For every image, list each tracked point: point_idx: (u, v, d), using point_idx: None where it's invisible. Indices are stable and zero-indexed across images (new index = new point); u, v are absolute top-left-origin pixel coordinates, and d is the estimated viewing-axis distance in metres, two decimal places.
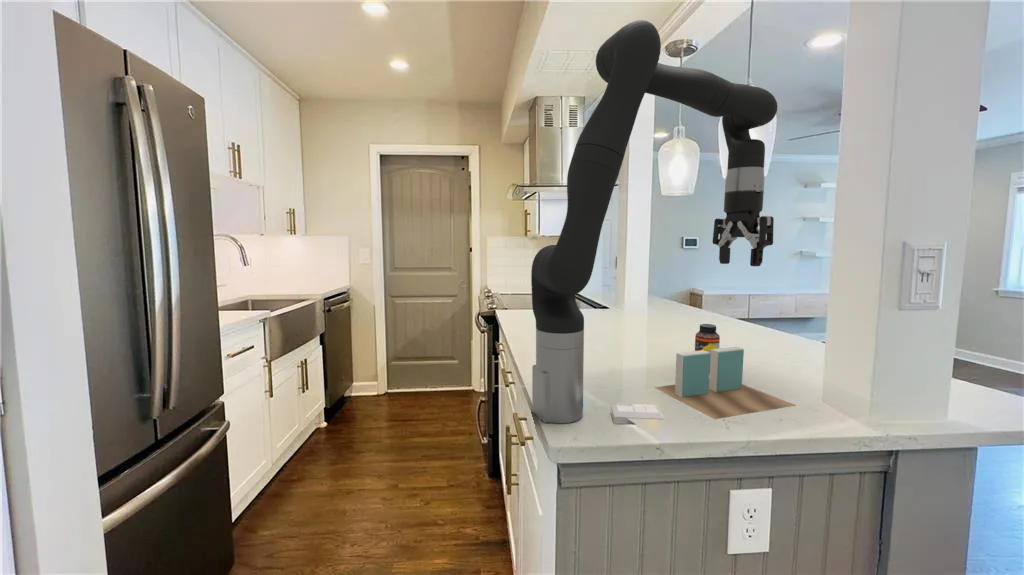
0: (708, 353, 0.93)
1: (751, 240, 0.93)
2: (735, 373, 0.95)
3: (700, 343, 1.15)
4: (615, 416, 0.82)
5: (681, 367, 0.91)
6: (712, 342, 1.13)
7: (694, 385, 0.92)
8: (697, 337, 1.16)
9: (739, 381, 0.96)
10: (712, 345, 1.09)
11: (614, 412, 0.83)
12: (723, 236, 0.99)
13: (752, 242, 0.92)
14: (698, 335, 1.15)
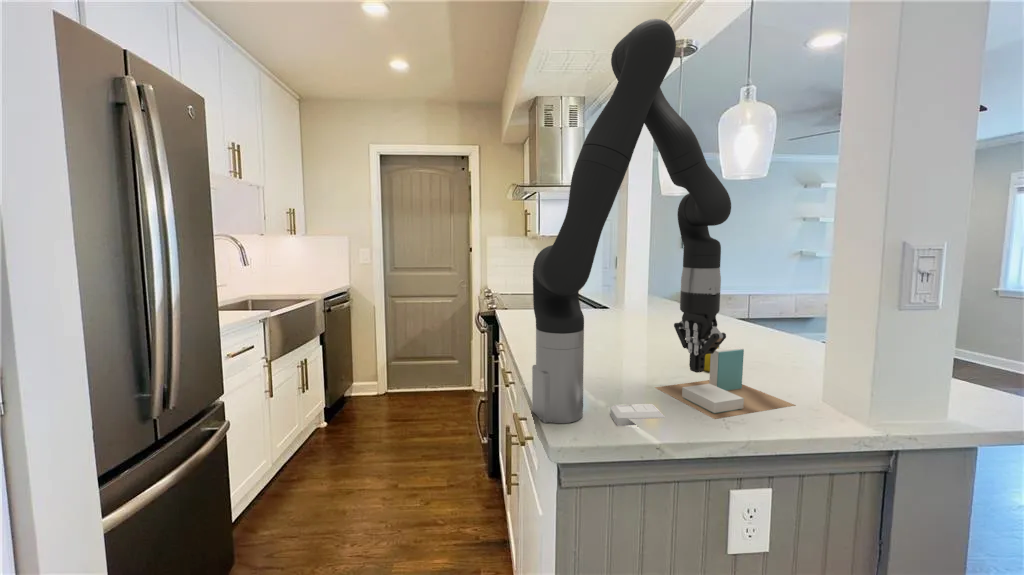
0: (740, 408, 0.85)
1: (696, 346, 0.90)
2: (735, 373, 0.95)
3: None
4: (618, 417, 0.81)
5: (704, 406, 0.86)
6: None
7: None
8: None
9: (739, 381, 0.96)
10: None
11: (616, 413, 0.83)
12: (688, 339, 0.92)
13: (696, 348, 0.90)
14: None
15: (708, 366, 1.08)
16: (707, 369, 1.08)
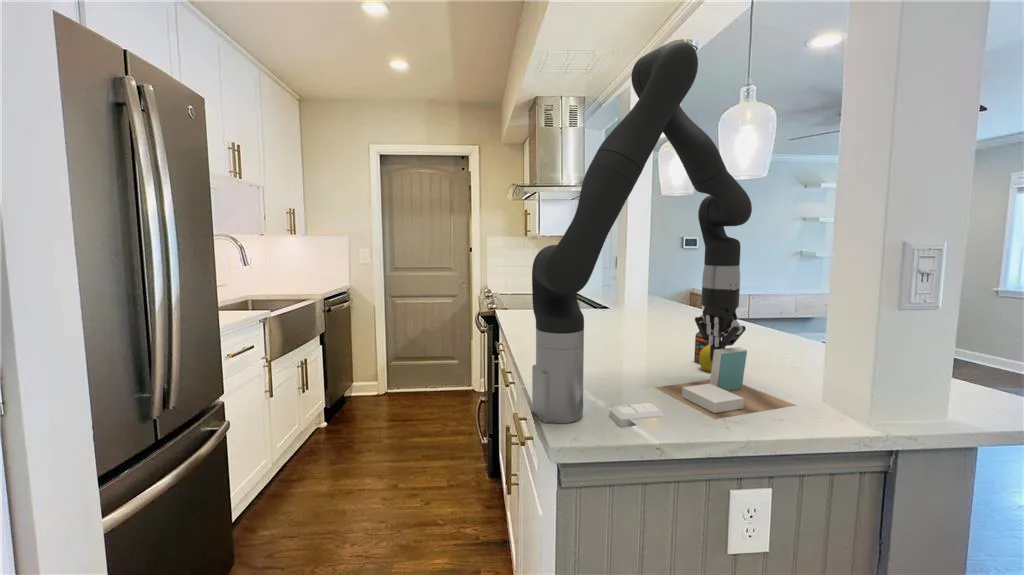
0: (740, 408, 0.85)
1: (717, 338, 0.97)
2: (736, 374, 0.95)
3: (700, 343, 1.15)
4: (622, 419, 0.81)
5: (704, 406, 0.86)
6: None
7: None
8: (697, 337, 1.16)
9: (740, 381, 0.96)
10: None
11: (618, 415, 0.82)
12: (708, 332, 0.98)
13: (716, 341, 0.97)
14: (698, 335, 1.15)
15: (708, 366, 1.08)
16: (707, 369, 1.08)
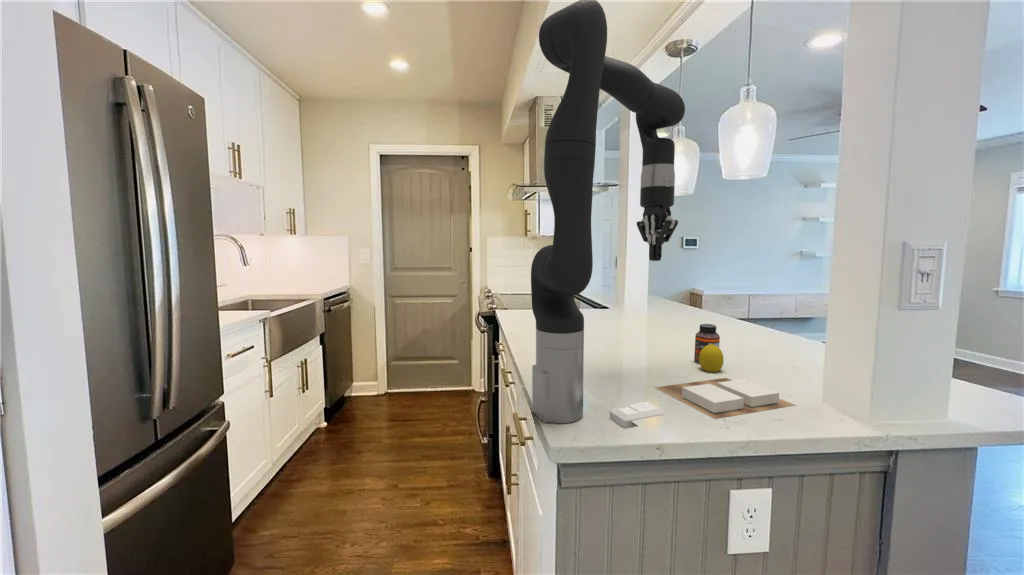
0: (740, 408, 0.85)
1: (653, 236, 1.02)
2: None
3: (700, 343, 1.15)
4: (626, 420, 0.80)
5: (704, 406, 0.86)
6: (712, 342, 1.13)
7: None
8: (697, 337, 1.16)
9: None
10: (712, 345, 1.09)
11: (621, 416, 0.81)
12: (647, 232, 1.03)
13: (653, 238, 1.02)
14: (698, 335, 1.15)
15: (708, 366, 1.08)
16: (707, 369, 1.08)
